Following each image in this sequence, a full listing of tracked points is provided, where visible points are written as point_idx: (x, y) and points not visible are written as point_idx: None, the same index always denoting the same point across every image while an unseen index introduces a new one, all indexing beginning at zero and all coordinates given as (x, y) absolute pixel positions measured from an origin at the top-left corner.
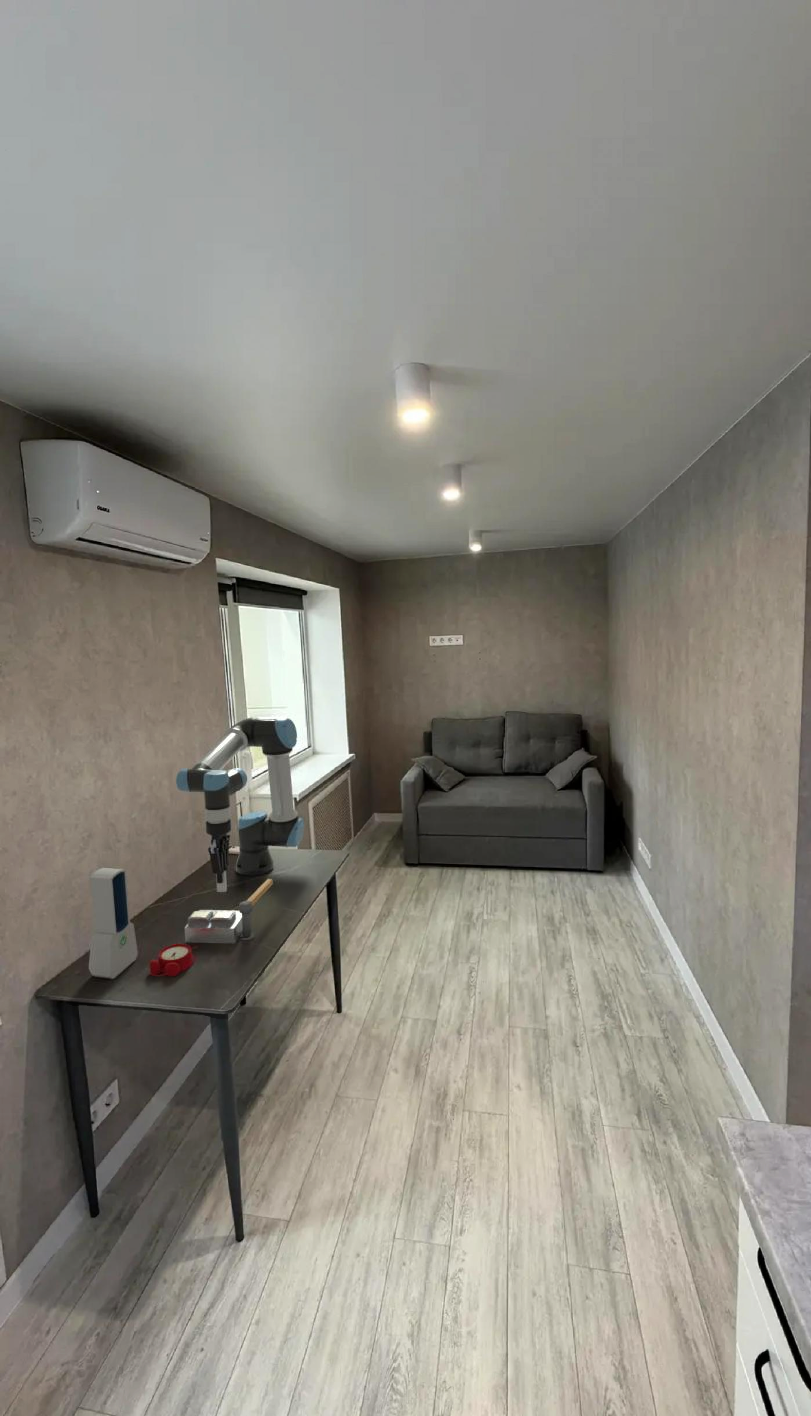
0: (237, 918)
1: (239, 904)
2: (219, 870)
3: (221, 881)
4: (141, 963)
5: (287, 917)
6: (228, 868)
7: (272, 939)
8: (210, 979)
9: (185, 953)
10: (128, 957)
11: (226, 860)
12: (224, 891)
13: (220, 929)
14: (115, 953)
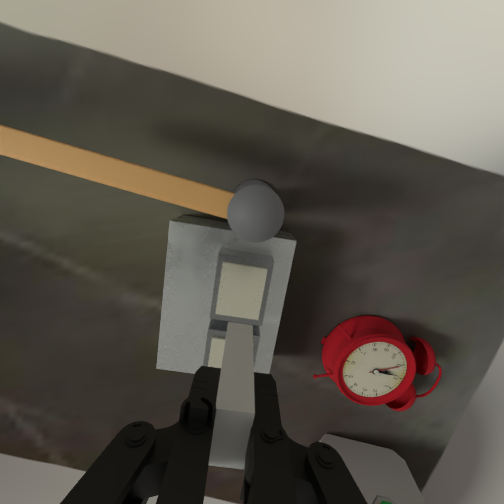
0: (225, 241)
1: (259, 240)
2: (357, 489)
3: (274, 384)
4: (343, 418)
5: (134, 81)
6: (193, 403)
7: (279, 119)
8: (451, 260)
9: (382, 346)
10: (353, 456)
11: (128, 489)
12: (251, 330)
13: (286, 282)
14: (409, 502)
